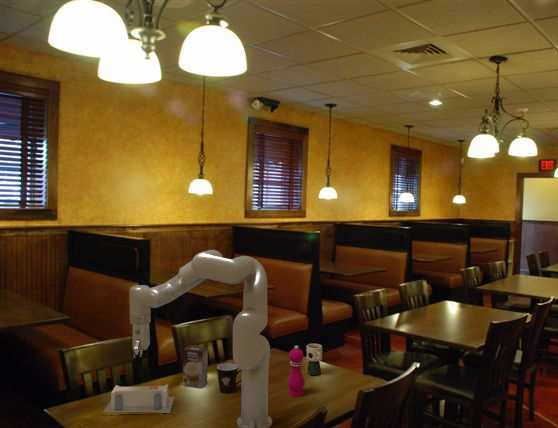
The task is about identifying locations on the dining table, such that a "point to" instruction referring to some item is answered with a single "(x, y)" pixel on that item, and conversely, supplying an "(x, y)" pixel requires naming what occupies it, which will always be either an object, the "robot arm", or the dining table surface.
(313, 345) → the character mug
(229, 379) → the coffee mug
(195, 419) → the dining table surface
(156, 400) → the slot rack
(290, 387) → the pepper mill
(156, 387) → the strip bar
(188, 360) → the coffee box
